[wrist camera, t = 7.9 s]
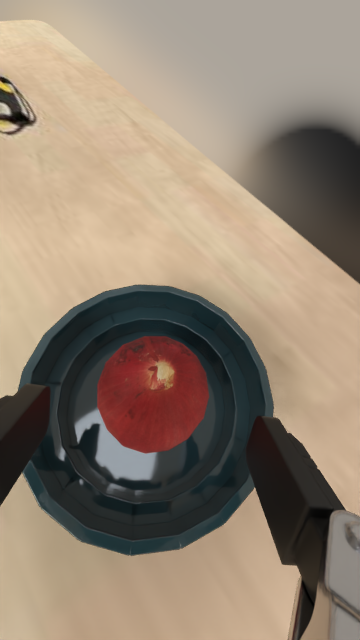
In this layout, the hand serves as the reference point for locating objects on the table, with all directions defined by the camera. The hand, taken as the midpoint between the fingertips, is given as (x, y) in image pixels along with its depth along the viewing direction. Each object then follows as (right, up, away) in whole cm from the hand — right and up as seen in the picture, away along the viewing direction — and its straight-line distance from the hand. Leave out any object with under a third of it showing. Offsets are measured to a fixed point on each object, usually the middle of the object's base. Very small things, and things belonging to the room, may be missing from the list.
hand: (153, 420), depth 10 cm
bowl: (-1, -2, +7) cm, 7 cm away
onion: (-1, -2, +7) cm, 7 cm away
